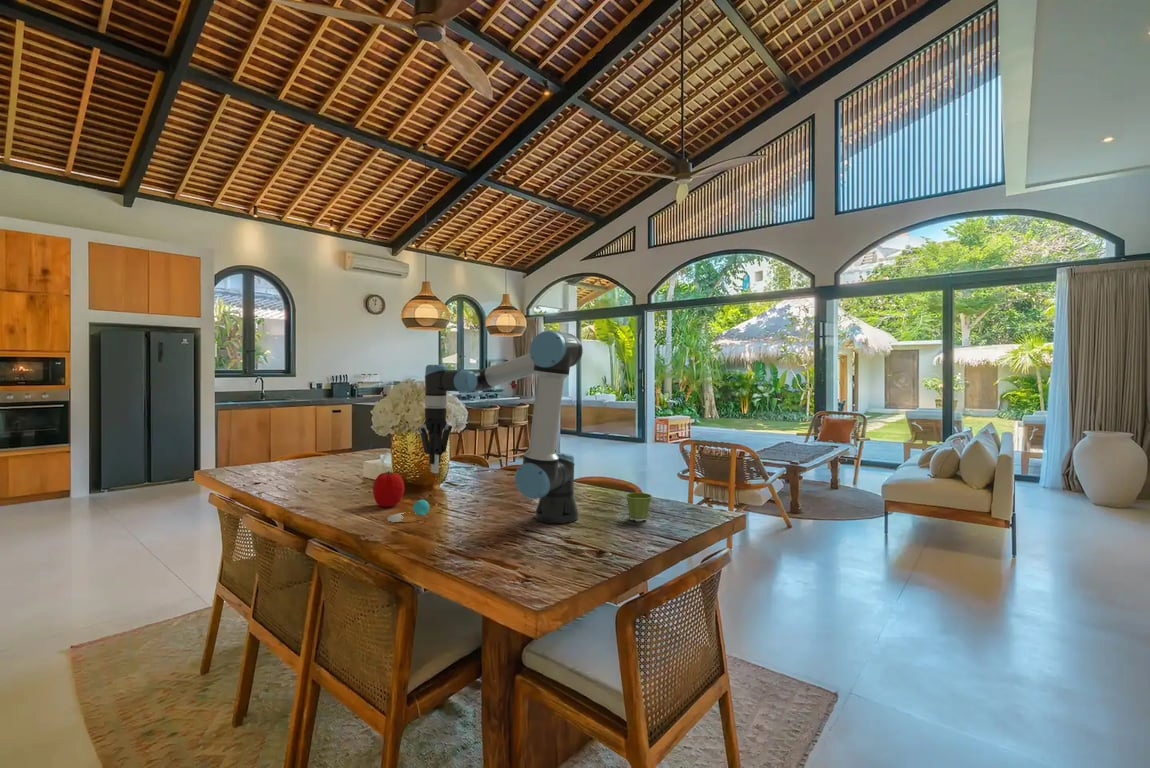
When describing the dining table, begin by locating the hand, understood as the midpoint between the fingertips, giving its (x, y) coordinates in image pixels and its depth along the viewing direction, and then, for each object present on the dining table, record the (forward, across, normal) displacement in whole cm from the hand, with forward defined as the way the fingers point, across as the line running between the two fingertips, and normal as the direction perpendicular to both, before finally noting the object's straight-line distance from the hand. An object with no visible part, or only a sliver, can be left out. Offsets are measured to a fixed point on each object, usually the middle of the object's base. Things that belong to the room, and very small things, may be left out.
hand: (434, 472), depth 192 cm
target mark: (+14, +11, 0) cm, 18 cm away
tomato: (+15, +8, -19) cm, 25 cm away
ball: (+12, +6, 0) cm, 13 cm away
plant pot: (+15, -46, +57) cm, 75 cm away
